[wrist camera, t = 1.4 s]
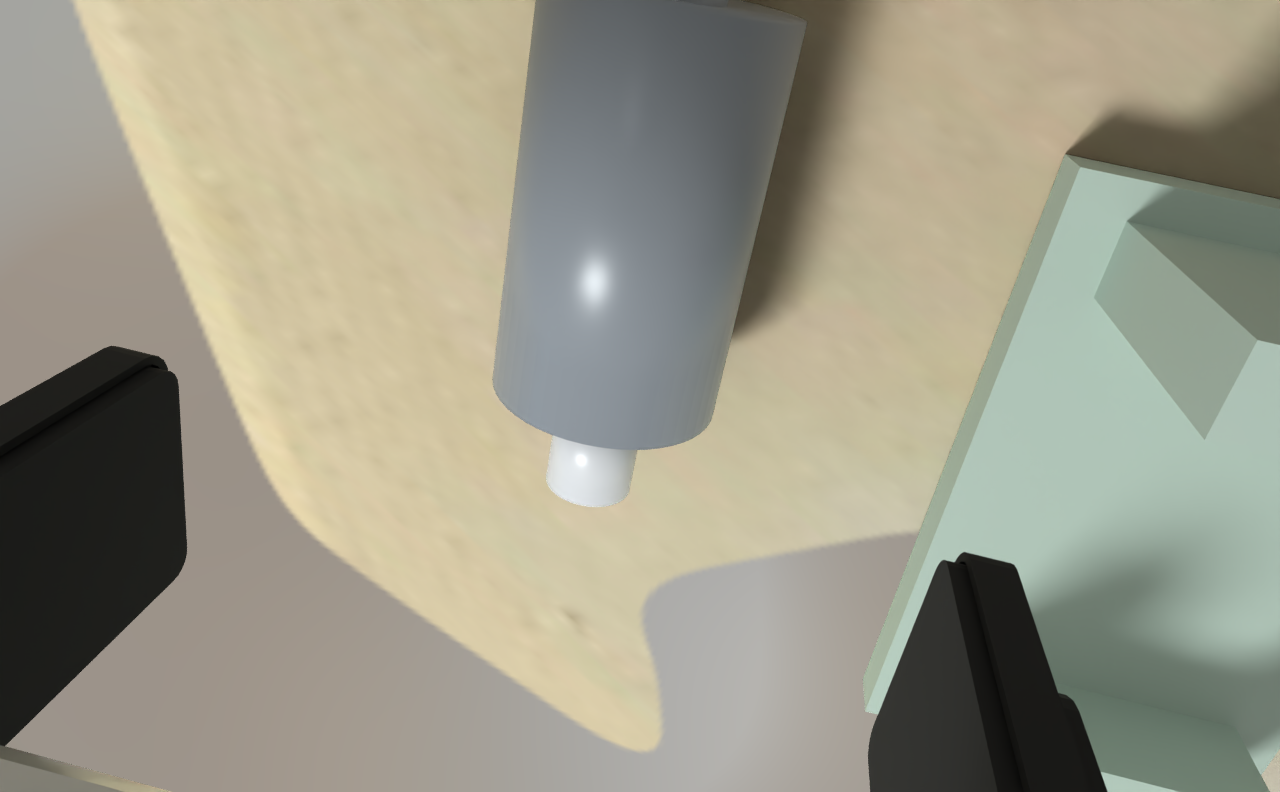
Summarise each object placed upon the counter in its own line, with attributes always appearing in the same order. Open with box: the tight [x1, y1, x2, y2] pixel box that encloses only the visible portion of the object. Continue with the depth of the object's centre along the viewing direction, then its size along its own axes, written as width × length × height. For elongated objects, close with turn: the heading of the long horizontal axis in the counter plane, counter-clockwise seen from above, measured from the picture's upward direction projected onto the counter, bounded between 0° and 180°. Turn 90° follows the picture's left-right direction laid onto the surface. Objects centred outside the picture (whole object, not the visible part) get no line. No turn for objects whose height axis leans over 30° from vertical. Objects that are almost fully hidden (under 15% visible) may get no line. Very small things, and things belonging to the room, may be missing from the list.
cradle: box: [863, 154, 1280, 792], centre depth 23 cm, size 18×12×9 cm, turn 170°
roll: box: [493, 0, 807, 507], centre depth 23 cm, size 16×6×6 cm, turn 170°
